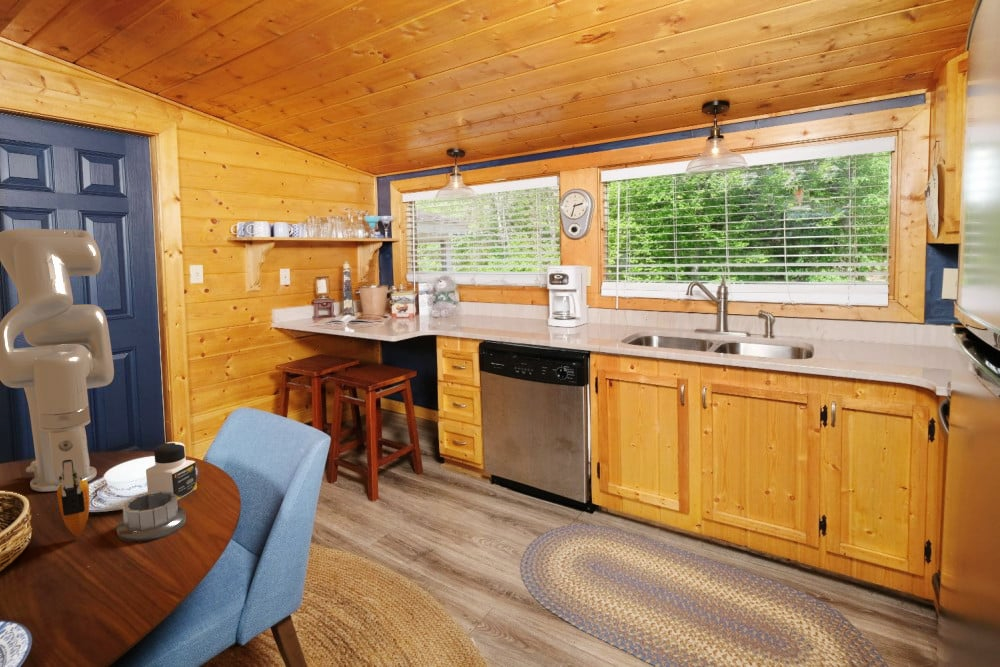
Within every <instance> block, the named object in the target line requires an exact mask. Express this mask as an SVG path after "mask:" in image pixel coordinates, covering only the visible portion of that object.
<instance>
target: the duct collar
mask: <svg viewBox="0 0 1000 667" xmlns="http://www.w3.org/2000/svg"><path fill="white" fill-rule="evenodd" d="M122 515H123V516H122V517H123V518H122V519H121V520H120V521H119V522H118V523H117V525H116V536H117V538H118V539H119V540H121V541H122V542H128V543H143V542H150V541H155V540H158V539H161V538H164V537H168V536H169V535H171V534H173V533H175V532H177V531H178V530H180V529H182V527H184V526H185V523H186V521H187V518H186V517H187V516H186V515H187V514H186V511H185V509H184V508H182V507H180V506H178V500H177V495H175V494H174V493H172V492H164V491H159V492H152V493H148V492H147V493H144V494H141V495H137V496H135V497H133V498H131V499H129V500H128V501H126V502H125V503H124V504H123V506H122Z"/></svg>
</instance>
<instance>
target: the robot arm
mask: <svg viewBox="0 0 1000 667" xmlns="http://www.w3.org/2000/svg"><path fill="white" fill-rule="evenodd" d="M0 263H1V264H2V266H3V268H4V269H5V271H6V273H7V274H8V276H9V277H10V279H11V280H12V282H13V284H14V286H15V288H16V292H17V299H18V304H17V305H15V306H14V307H13V308H12V309H11V310H10V311H9V312H7V313H6V315H4V317H3V318H2V319H1V321H0V382H2V384H3V385H4V386H5V387H8V388H13V389H20V388H23V389H24V392H25V396H26V397H25V398H26V401H27V404H28V406H27V407H28V410H29V416H30V417H29V418H30V424H31V432H32V433H31V434H32V438H33V447H34V455H35V460H33V461H31V462H30V466H27V467H26V468H25V472H26V473H33V475H34V478H32V479H31V480H30V482H29V485H30V486H29V487H30V488H31V490H33V491H36V492H44V493H45V492H57V491H58V488H59V486H60V485H62V496H61V497H62V506H63V514H64V515H65V516H66V515H71V514H76V513H81V512H84V511H85V505H84V497H83V491H81V485H80V480H84V481H87V482H90V481H92V480H93V479H94V478H95V477H96V476H97V473H98V472H97V469H96V467H94V466H90V456H89V449H88V448H89V446H88V438H87V434H86V433H87V432H86V427H85V426H87V425H89V424H91V416H90V406H89V405H90V404H89V398H88V396H89V395H88V389H89V390H90V389H95V388H102V387H106V386H108V385H110V384H111V383H112V382H113V380H114V378H115V377H114V376H115V369H114V368H115V367H114V360H113V351H112V344H111V337H110V336H111V335H110V331H109V324H108V320H107V316H106V313H105V311H104V310H103V309H102V308H101V307H100V306H98V305H95V304H88V303H87V304H74V296H73V292H72V291H73V290H72V286H71V280H70V277H91V276H96V275H97V274H99V273H100V271H101V268H102V256H101V252H100V248H99V246H98V244H97V242H96V240H95V239H94V237H93V236H92V235H91V233H90V232H88V231H87V230H82V229H54V228H53V229H52V228H11V229H6V230H3V231H0ZM21 333H23V337H24V339H25V342H26V343H27V344H28V345H30V346H29V347H18V348H15V346H14V343H15V341H16V340H15V339H16V338H17V337H18V336H19V335H20V334H21ZM72 463H73V465H72ZM75 474H77V477H73V475H75ZM74 481H76V484H77V485H76V484H74Z"/></svg>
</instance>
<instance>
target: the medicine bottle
mask: <svg viewBox="0 0 1000 667" xmlns="http://www.w3.org/2000/svg"><path fill="white" fill-rule="evenodd" d="M153 452H154V454H153V455H154V463H155V464H154V465H153V466H150V467H149V468H146V470H145V475H146V476H145V477H146V486H147V493H152V492H159V491H164V492H172V493H174V494H175V495H177V501H179V500H181V499H182V498H184V497H185V496H187V495H189V494H191V493H192V492H194V491H195V490H197V489H198V483H197V482H198V481H197V480H198V479H197V469H196V461H195V460H191V459H190V460H189V459H186V458H187V457H186V445H185V443H183V442H179V441H169V442H165V443H160V444H159V445H157V446H156V447H155V448H154V449H153Z"/></svg>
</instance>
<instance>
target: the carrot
mask: <svg viewBox="0 0 1000 667" xmlns="http://www.w3.org/2000/svg"><path fill="white" fill-rule="evenodd" d="M72 465H73V463H72ZM73 477H77V474H75V475H73ZM88 482H89V481H88ZM88 482H87V481H84V480H80V485H81V491H83V497H84V505H85V511H84V512H81V513H76V514H71V515H66V516H65V515H64V514H63V506H62V497H61V496H62V485H60V486H59V488H58V491H56V496H57V502H58V507H59V512H60V515H61V518H62V520H63V522H64V524H65V526H66V528H67V529H68V531H70V532H71V534H72V535H74V536H75V537H80V536H81V535H82V534H83V532H84V530H85V527H86V525H87V522H88V519H89V512H90V504H91V503H90V488H89V487H90V486H89V485H90V484H89V483H88ZM74 484H76V481H74ZM76 485H77V484H76Z"/></svg>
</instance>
